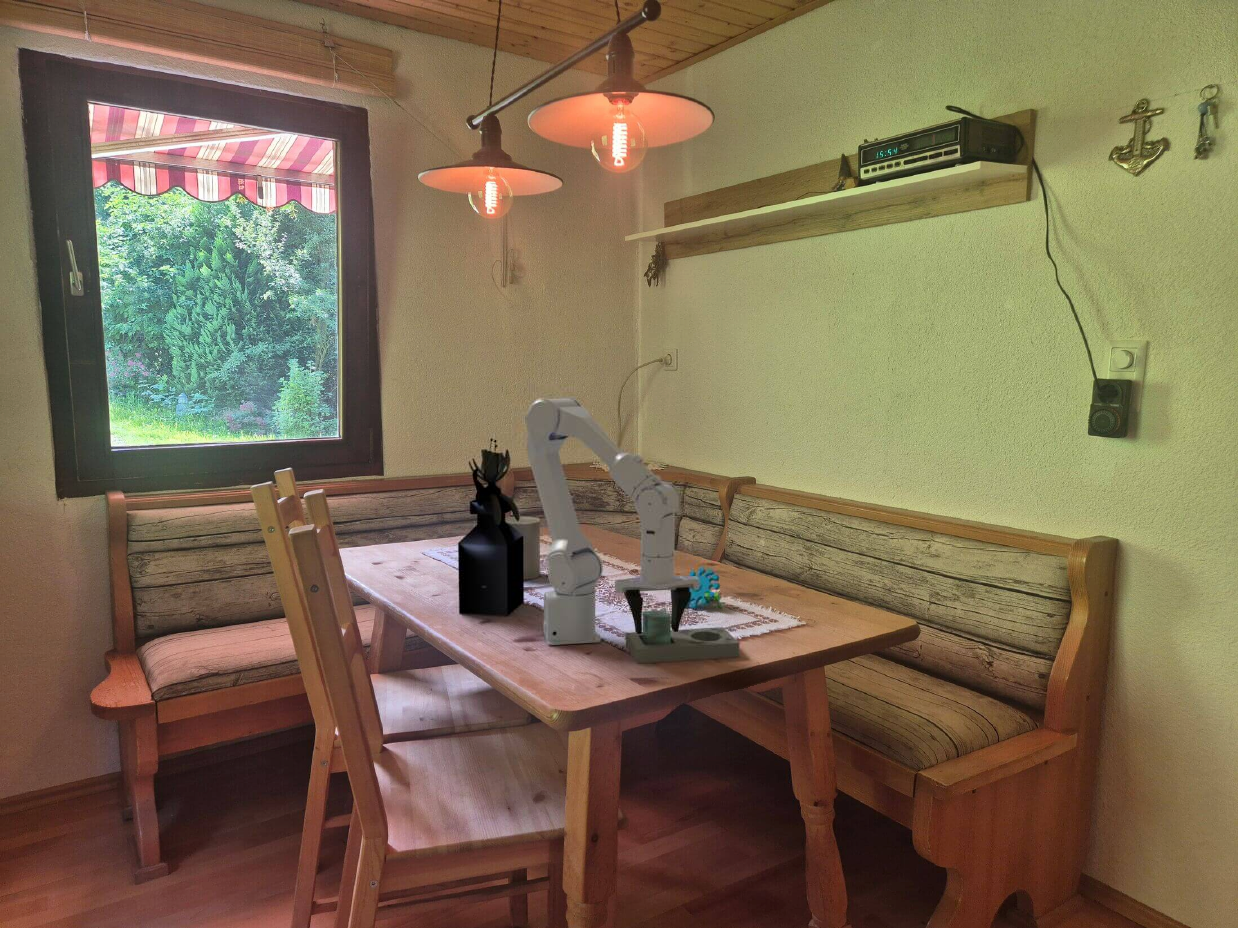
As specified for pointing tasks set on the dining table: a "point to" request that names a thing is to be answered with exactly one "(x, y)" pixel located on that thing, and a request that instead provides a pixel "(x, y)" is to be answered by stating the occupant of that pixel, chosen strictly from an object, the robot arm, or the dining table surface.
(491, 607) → the vase
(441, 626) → the dining table surface
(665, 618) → the square peg
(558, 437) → the robot arm
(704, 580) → the gear
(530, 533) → the pillar candle
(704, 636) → the hole plate
